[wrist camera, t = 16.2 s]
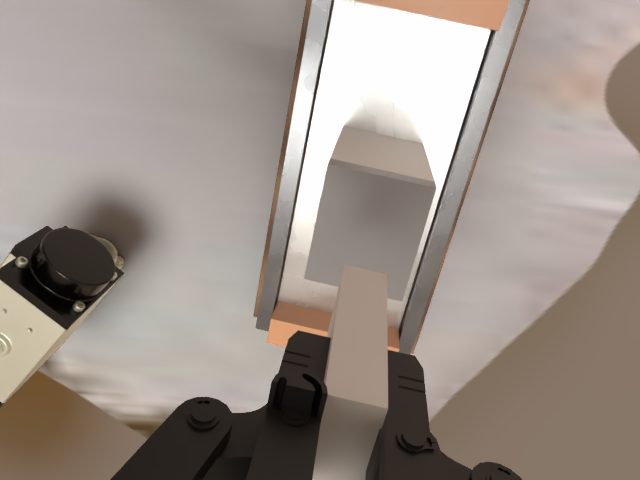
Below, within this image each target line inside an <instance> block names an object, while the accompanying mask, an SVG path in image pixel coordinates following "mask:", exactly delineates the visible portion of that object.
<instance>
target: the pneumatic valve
mask: <svg viewBox="0 0 640 480" xmlns="http://www.w3.org/2000/svg"><path fill="white" fill-rule="evenodd" d="M123 266H124V259H123V258H122V257H120V256H118V252H117V249H116V248H115V246H114V245H113V244H112V243H111V242H109V241H108V240H106V239H103V238H100V237H96V236H95V235H93V234H90V235H89V234H87V233H84V232H82V231H79V230H76V229H71V228H68V227H67V226H64V227H63V228H58V229H55V230H52V229H51V228H50V227H49V226H46V227H44V228H43V229H41V230H39V231H38V232H36V233H34V234H33V235H31V236H29V237H28V238H26V239H25V240H23V241H21V242H20V243H18V244H16V245H15V246H14V248H13V249H12V250H11V252H10V253H9V255H8V256H7V257H6V259H5V260H4V261H3V263H2V264H1V266H0V407H2V405H3V404H4V403H5V402H6V401H7V400H8V399H9V398H10V397H11V396H12V395H13V394H14V393H15V392H16V391H17V390H18V389H19V388H20V387H21V386H22V385H23V384H24V383H25V382H26V381H27V380H28V379H29V378H30V377H31V376H32V375H33V374H34V373H35V372H36V371H37V370H38V369H39V368H40V367H41V366H42V365H43V364H44V363H45V362H46V361H47V360H48V359H49V358H50V357H51V356H52V355H53V354H54V353H55V352H56V351H57V350H58V349H59V348H60V346H61V345H62V344H63V343H64V342H65V341H66V340H67V338H68V337H69V336H70V335H71V334H72V333H73V332H74V330H75V329H76V328H77V327H78V326H79V325H80V324H81V322H82V321H83V320H84V319H85V318H86V317H87V315H88V314H89V313H90V312H91V311H92V310H93V309H94V307H95V306H96V305H97V304H98V303H99V302H100V301H101V299H102V298H103V297H104V296H105V295H106V294H107V292H108V291H109V290H110V289H111V288H112V287H113V286H114V284H115V283H116V282H117V281H118V280H119V279H120V278H121V276H122V275H123V274H124V273H123V272H122V271H121V270H120V269H121V268H122V267H123Z"/></svg>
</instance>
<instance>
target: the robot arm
mask: <svg viewBox="0 0 640 480" xmlns="http://www.w3.org/2000/svg"><path fill="white" fill-rule="evenodd" d="M312 479H313V480H522V479H521V478H520V477H519V476H518V475H517V474H515V473H514V472H513V471H512V470H511V469H509V468H507V467H505V466H503V465H501V464H497V463H493V462H484V463H479V464H478V465H477V466H475V467H474V468H473V470H471V469H469V468H467V467H465V466H463V465H461V464H459V463H457V462H455V461H454V460H452V459H451V458H449V457H447V456H446V455H445V454H444V453H442V452H441V451H440V448H439V445H438V442H437V440H436V438H435V437H434V436H433V435H432V434H431V432H430V429H429V420H428V411H427V401H426V394H425V384H424V373H423V368H422V366H421V365H420V363H419V362H418V360H417V358H416V357H415V356H413V355H409V354H404V353H400V352H396V351H391V350H388V336H387V274H384V273H380V272H375V271H371V270H366V269H362V268H358V267H353V266H349V265H344V267H343V271H342V276H341V280H340V284H339V288H338V292H337V296H336V300H335V304H334V309H333V313H332V317H331V321H330V325H329V329H328V335H327V337H325V336H321V335H317V334H312V333H308V332H304V331H299V330H298V331H297V332H296V333H295V334H293V335H292V336H291V337H290V338H289V339H288V342H287V346H286V349H285V353H284V356H283V359H282V363H281V366H280V370H279V373H278V374H277V375H276V376H275V377H274V379H273V380H272V384H271V389H270V394H269V399H268V403H267V404H266V405H265V406H263V407H262V408H260V409H258V410H255V411H252V412H246V413H232V412H231V411H230V409H229V408H228V406H227V405H226V404H224V403H222V402H221V401H219V400H217V399H213V398H210V397H196V398H193V399H190V400H187V401H185V402H184V403H182V404H181V405H180V406H178V407H177V408H176V409H175V411H174V412H173V413H172V414H171V415H170V416H169V417H168V418H167V419H166V420H165V421H164V422H163V423H162V425H161V426H160V427H159V428H158V429H157V430H156V431H155V432H154V433H153V434H152V435H151V436H150V438H149V439H148V440H147V441H146V442H145V443H144V444H143V445H142V446H141V447H140V448H139V449H138V450H137V452H136V453H135V454H134V455H133V456H132V457H131V458H130V459H129V460H128V461H127V462H126V463H125V464H124V466H123V467H122V468H121V469H120V470H119V471H118V472H117V473H116V474H115V475H114V476H113V477H112V479H111V480H312Z"/></svg>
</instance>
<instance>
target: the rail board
mask: <svg viewBox="0 0 640 480" xmlns="http://www.w3.org/2000/svg"><path fill="white" fill-rule="evenodd" d="M529 1H530V0H307V1H306V7H305V13H304V19H303V25H302V31H301V37H300V43H299V48H298V54H297V60H296V66H295V72H294V78H293V84H292V90H291V96H290V102H289V108H288V114H287V120H286V126H285V132H284V138H283V144H282V149H281V155H280V161H279V167H278V173H277V179H276V185H275V191H274V197H273V203H272V209H271V215H270V221H269V227H268V233H267V239H266V245H265V250H264V256H263V262H262V268H261V274H260V280H259V286H258V292H257V298H256V304H255V310H254V317H257V323H256V328H257V329H261V330H265V331H269V332H268V338H267V343H269V344H273V345H277V346H281V347H286V346H287V342H288V339H289V338H290V337H291V336H292V335H293V334H295V333H296V332H297V331H298V330H299V331H304V332H308V333H312V334H317V335H321V336H325V337H327V335H328V329H329V325H330V321H331V317H332V313H333V309H334V304H335V300H336V296H337V292H338V288H339V287H337V286H332V285H328V284H324V283H319V282H315V281H311V280H306V279H304V275H305V270H306V266H307V261H308V256H309V251H310V246H311V242H312V237H313V232H314V227H315V222H316V217H317V213H318V208H319V203H320V198H321V193H322V188H323V184H324V179H325V174H326V169H327V164H328V162H329V159H330V157H331V154H332V152H333V149H334V147H335V144H336V142H337V139H338V137H339V134H340V132H341V129H342V127H343V126H345V127H350V128H354V129H359V130H363V131H368V132H372V133H377V134H381V135H386V136H390V137H395V138H399V139H404V140H408V141H413V142H417V143H422V144H424V148H425V151H426V154H427V158H428V161H429V164H430V168H431V171H432V174H433V178H434V181H435V185H436V188H437V189H436V192H435V195H434V198H433V202H432V205H431V208H430V212H429V215H428V218H427V222H426V225H425V228H424V231H423V235H422V238H421V241H420V245H419V248H418V251H417V255H416V258H415V261H414V264H413V268H412V271H411V274H410V278H409V281H408V284H407V287H406V291H405V294H404V297H403V301H398V300H393V299H389V298H387V336H388V350H391V351H396V352H400V353H404V354H409V355H410V353H412V354H413V352H414V349H415V346H416V343H417V340H418V337H419V334H420V331H421V328H422V325H423V322H424V319H425V316H426V313H427V310H428V307H429V304H430V301H431V298H432V295H433V292H434V289H435V286H436V283H437V280H438V277H439V274H440V271H441V268H442V265H443V262H444V259H445V256H446V252H447V249H448V246H449V243H450V240H451V237H452V234H453V231H454V228H455V225H456V222H457V219H458V216H459V213H460V210H461V207H462V204H463V201H464V198H465V195H466V192H467V189H468V186H469V183H470V180H471V177H472V174H473V171H474V168H475V165H476V162H477V159H478V156H479V152H480V149H481V146H482V143H483V140H484V137H485V134H486V131H487V128H488V125H489V122H490V119H491V116H492V113H493V110H494V107H495V104H496V101H497V98H498V95H499V92H500V89H501V86H502V83H503V80H504V77H505V74H506V71H507V68H508V65H509V62H510V59H511V56H512V53H513V49H514V46H515V43H516V40H517V37H518V34H519V31H520V28H521V25H522V22H523V19H524V16H525V13H526V10H527V7H528V4H529Z"/></svg>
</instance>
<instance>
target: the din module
mask: <svg viewBox="0 0 640 480" xmlns="http://www.w3.org/2000/svg"><path fill="white" fill-rule="evenodd" d="M436 189H437V188H436V185H435V181H434V178H433V174H432V171H431V168H430V164H429V161H428V158H427V154H426V151H425V148H424V144H422V143H417V142H413V141H408V140H404V139H399V138H395V137H390V136H386V135H381V134H377V133H372V132H368V131H363V130H359V129H354V128H350V127H345V126H343V127H342V129H341V132H340V134H339V137H338V139H337V142H336V144H335V147H334V149H333V152H332V154H331V157H330V159H329V162H328V164H327V169H326V174H325V179H324V184H323V188H322V193H321V198H320V203H319V208H318V213H317V217H316V222H315V227H314V232H313V237H312V242H311V246H310V251H309V256H308V261H307V266H306V270H305V275H304V279H306V280H311V281H315V282H319V283H324V284H328V285H332V286H337V287H339V284H340V280H341V276H342V271H343V267H344V265H349V266H353V267H358V268H362V269H366V270H371V271H375V272H380V273H384V274H387V298H389V299H393V300H398V301H403V297H404V294H405V291H406V287H407V284H408V281H409V278H410V274H411V271H412V268H413V264H414V261H415V258H416V255H417V251H418V248H419V245H420V241H421V238H422V235H423V231H424V228H425V225H426V222H427V218H428V215H429V212H430V208H431V205H432V202H433V198H434V195H435V192H436Z"/></svg>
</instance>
